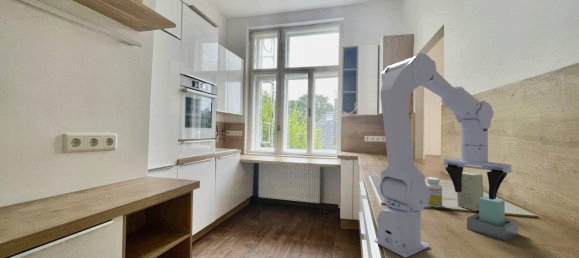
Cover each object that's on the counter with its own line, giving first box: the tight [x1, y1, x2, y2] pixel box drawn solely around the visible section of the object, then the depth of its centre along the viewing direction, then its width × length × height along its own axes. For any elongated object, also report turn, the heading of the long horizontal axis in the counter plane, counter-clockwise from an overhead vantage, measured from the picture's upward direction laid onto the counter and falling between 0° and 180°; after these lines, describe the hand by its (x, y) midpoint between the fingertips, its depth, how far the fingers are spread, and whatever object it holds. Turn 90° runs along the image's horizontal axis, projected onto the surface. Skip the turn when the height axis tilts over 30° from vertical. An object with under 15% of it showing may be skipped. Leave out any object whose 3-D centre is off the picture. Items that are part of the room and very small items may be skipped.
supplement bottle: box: [426, 176, 443, 208], centre depth 81 cm, size 5×5×10 cm
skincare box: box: [456, 171, 484, 212], centre depth 78 cm, size 6×4×12 cm
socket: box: [466, 212, 519, 242], centre depth 59 cm, size 8×8×3 cm
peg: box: [478, 196, 506, 226], centre depth 59 cm, size 4×4×8 cm
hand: (474, 195), depth 61 cm, fingers open, 7 cm apart
